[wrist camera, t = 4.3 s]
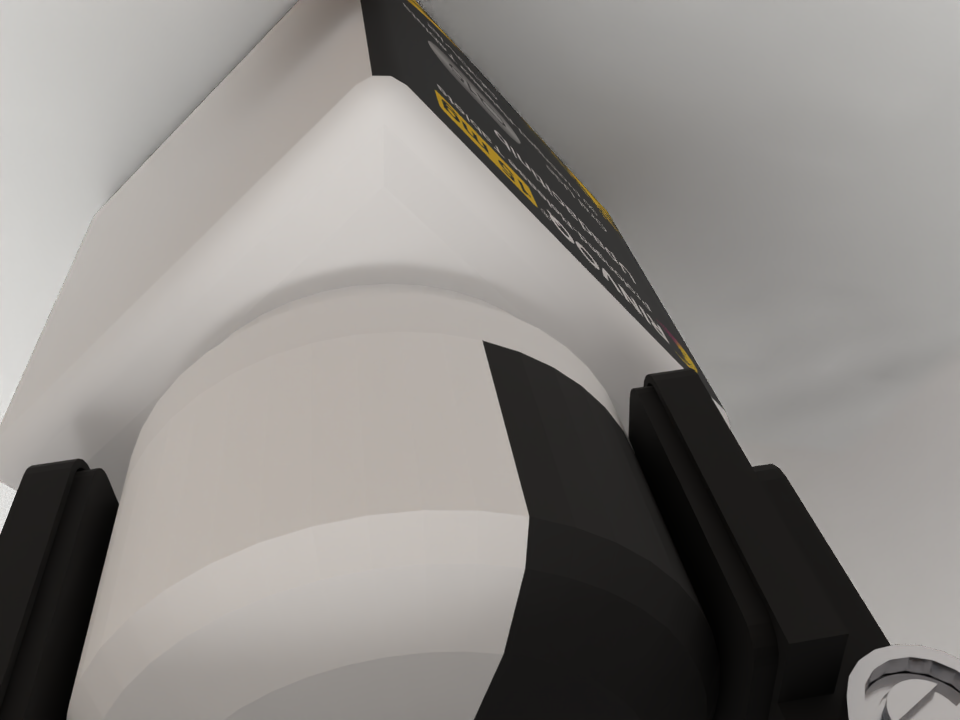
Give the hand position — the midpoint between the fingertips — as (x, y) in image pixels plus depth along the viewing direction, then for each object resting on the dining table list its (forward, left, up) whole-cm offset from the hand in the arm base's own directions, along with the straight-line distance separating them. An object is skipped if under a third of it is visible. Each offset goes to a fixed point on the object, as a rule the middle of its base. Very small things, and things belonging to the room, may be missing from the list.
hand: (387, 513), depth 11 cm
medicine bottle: (0, 0, -8) cm, 8 cm away
